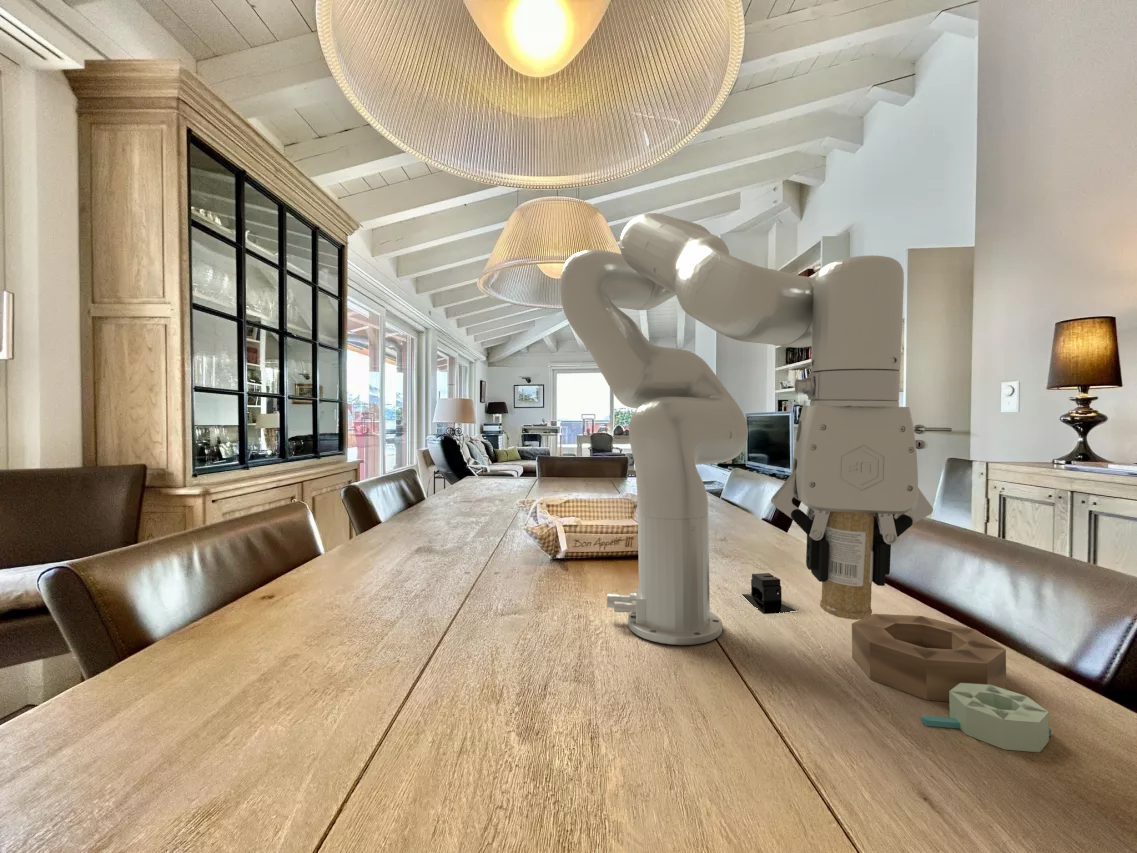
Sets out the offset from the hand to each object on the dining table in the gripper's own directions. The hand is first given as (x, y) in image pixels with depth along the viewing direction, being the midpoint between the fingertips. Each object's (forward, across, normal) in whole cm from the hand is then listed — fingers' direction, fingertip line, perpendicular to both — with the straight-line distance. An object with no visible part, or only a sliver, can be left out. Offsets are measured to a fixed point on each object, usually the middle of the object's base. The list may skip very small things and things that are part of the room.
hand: (846, 577), depth 51 cm
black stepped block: (+15, -1, +30) cm, 34 cm away
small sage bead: (+12, +12, -2) cm, 17 cm away
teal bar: (+12, +11, -2) cm, 17 cm away
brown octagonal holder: (+13, +11, +9) cm, 19 cm away
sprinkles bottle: (+4, 0, 0) cm, 4 cm away
